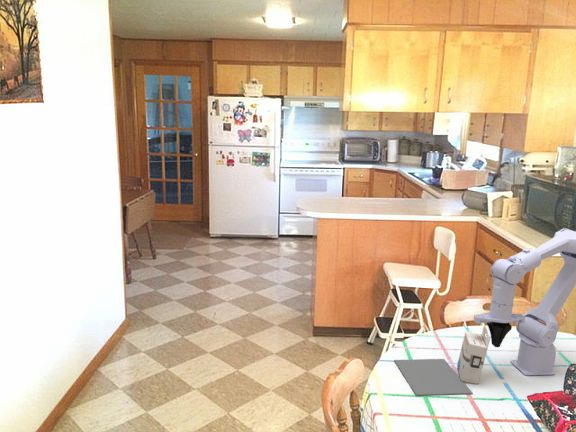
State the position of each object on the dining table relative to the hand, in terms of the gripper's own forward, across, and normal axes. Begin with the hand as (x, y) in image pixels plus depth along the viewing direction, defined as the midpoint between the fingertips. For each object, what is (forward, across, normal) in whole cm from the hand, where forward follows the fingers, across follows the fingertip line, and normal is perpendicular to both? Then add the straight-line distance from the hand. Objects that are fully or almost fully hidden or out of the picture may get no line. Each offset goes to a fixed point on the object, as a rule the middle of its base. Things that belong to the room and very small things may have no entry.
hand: (495, 345), depth 134 cm
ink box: (+10, +8, 0) cm, 12 cm away
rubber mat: (+10, +18, 0) cm, 21 cm away
